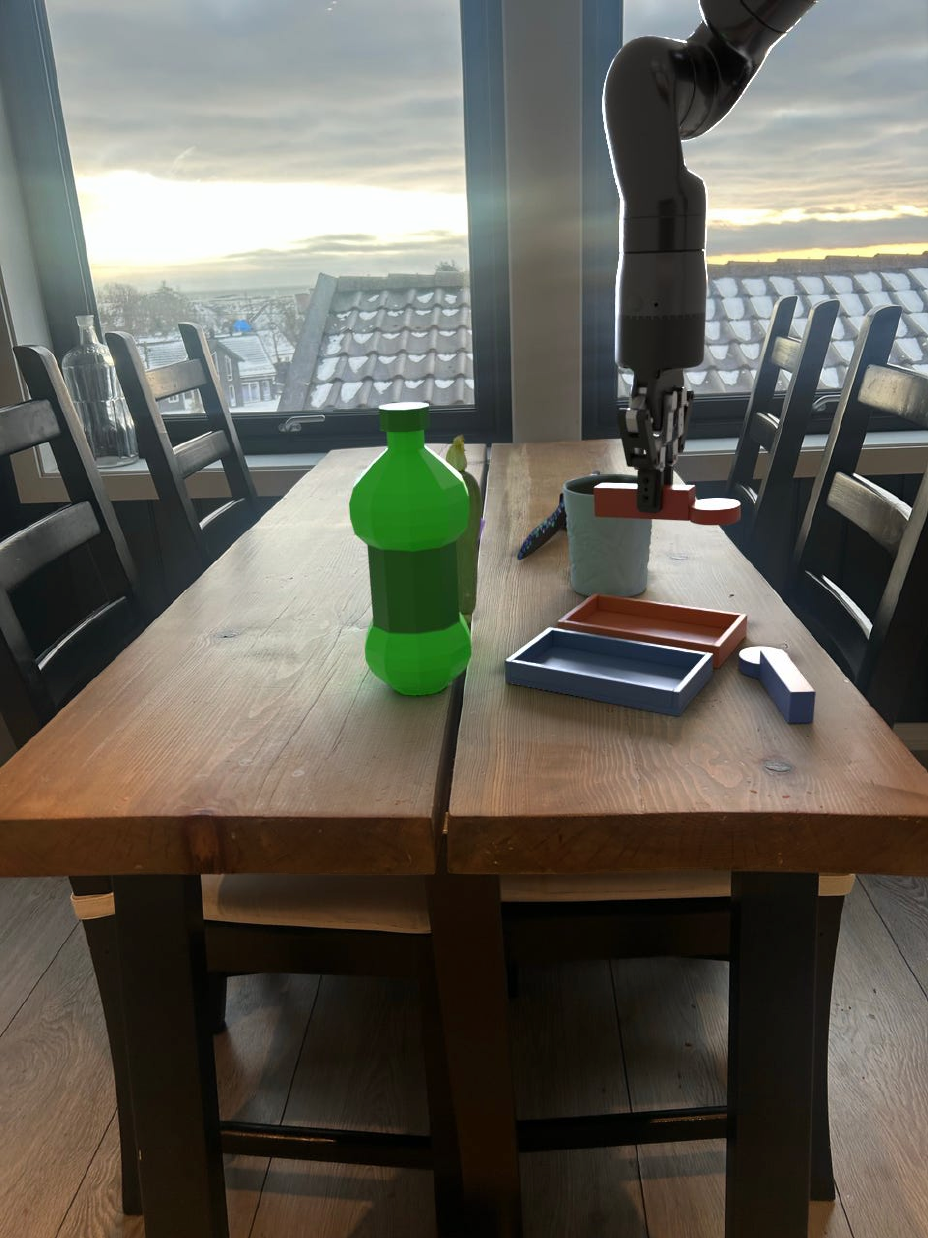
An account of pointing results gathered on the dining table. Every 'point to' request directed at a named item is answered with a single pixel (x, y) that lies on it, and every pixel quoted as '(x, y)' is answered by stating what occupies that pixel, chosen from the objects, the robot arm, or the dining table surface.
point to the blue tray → (611, 670)
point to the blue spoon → (780, 681)
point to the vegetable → (467, 533)
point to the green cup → (605, 542)
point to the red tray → (659, 624)
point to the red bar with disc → (665, 505)
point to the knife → (546, 529)
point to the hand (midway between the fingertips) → (654, 507)
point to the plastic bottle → (412, 556)
